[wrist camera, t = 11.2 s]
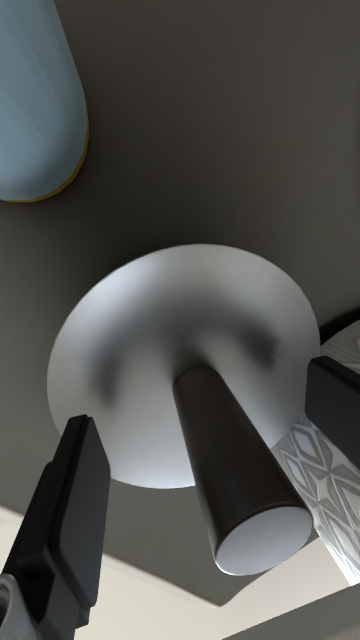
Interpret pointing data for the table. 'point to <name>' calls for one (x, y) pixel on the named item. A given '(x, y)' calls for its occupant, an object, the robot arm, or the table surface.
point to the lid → (196, 388)
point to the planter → (328, 470)
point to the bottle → (38, 103)
